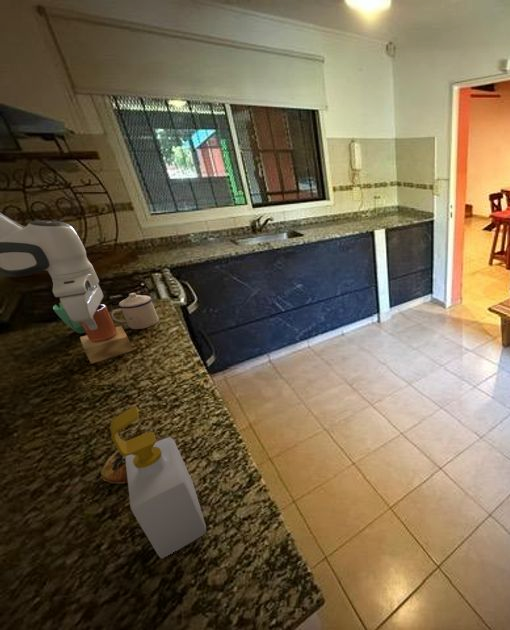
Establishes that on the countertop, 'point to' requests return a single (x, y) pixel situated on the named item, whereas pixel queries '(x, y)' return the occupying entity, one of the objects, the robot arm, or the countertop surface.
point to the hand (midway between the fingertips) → (97, 323)
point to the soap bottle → (159, 488)
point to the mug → (68, 319)
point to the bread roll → (117, 468)
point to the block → (106, 346)
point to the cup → (101, 325)
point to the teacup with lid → (137, 311)
